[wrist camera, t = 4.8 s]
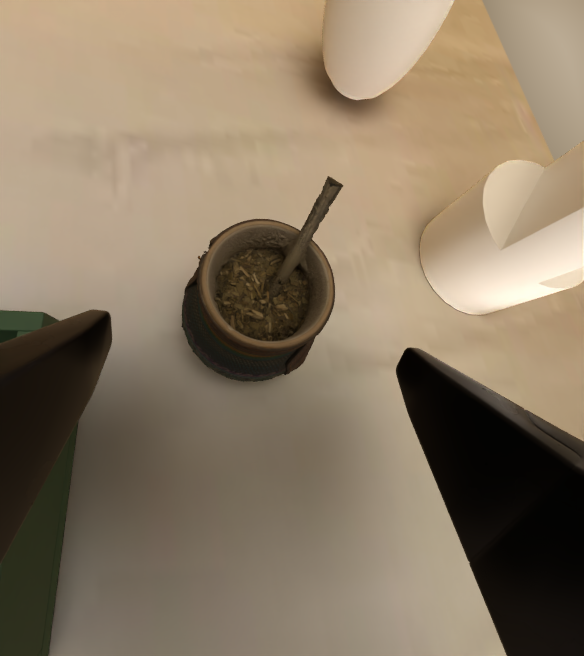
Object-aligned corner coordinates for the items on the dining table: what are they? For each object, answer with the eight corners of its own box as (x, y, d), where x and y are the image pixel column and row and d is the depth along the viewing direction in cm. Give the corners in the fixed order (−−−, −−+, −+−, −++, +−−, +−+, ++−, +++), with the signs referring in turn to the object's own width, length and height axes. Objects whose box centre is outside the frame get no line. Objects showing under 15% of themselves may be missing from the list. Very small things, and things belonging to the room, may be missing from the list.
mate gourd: (163, 358, 18) (112, 311, 8) (217, 250, 20) (224, 118, 11) (278, 403, 19) (346, 405, 10) (317, 296, 21) (403, 212, 12)
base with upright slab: (488, 338, 24) (734, 282, 13) (400, 263, 24) (575, 137, 12) (526, 259, 27) (753, 158, 16) (449, 192, 27) (626, 37, 15)
